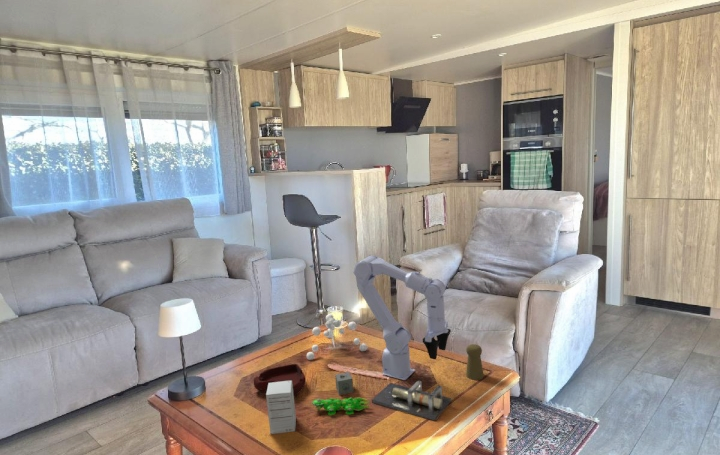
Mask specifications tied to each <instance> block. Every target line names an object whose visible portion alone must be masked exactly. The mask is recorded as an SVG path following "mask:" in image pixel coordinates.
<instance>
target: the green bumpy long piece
mask: <svg viewBox="0 0 720 455" xmlns="http://www.w3.org/2000/svg"><path fill="white" fill-rule="evenodd" d="M369 401H370V400H369V399H366V398H362V397H359V396H357V397H354V398H353V397H349V398H346V397H345V398H343V399H342V398H340V397H338V398H337V399H336V398H333V397H330V398H327V399H321V398H315V399H314V400H313V401H311V403H312V405H314V406H315V407H316V408H317V409H316V410H317V411H320V409H322V408H323V409H324V410H325V411H327V415H328V416H333V415H335V414H337V413H336V411H340V410H344V411H345V414H346V415H348V416H349V415H353V414H355V413H354V411H357V412H359V411H362V410H366V409H368V408H369V407H370V406H369V405H370V403H369Z"/></svg>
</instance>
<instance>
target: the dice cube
mask: <svg viewBox="0 0 720 455" xmlns="http://www.w3.org/2000/svg"><path fill="white" fill-rule="evenodd" d="M334 377H335V378H334V379H335V388H336V391H337V393H338V396H341V395H346V394H351V393H352V394H353V393H354V382H353V380H354V379H353V377H352V375H351V372H350V371H347V372H342V373H336V374H335V375H334Z"/></svg>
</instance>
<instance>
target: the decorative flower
mask: <svg viewBox="0 0 720 455" xmlns="http://www.w3.org/2000/svg"><path fill="white" fill-rule="evenodd" d="M325 321H326V322H325V323H324V325H325V328H324V326H323V324H321V326H322V328H323V329H324V332H322V329H321V328H320V326H315V327H313V328H312V331H311V332H312V335H313V336H315V337H316V338H317V339H319V340H321V341H322V339H321V338H319V337H317V336H319V335H321V332H322V334H323V335H324V337H325V338H327V339H330V341H328V340H326V339H325V338H324V341H323V343H325V344H326V346H325V344H323V343H321V342H319V341H318V343H319V344H320V345H321V344H322V345H321V347H324V346H325V350H324V349H323V351H324V352H322V353H323V354H324V353H325V352H326V349H329V350H335V349H336V350H337V349H348V347H350V345H352V344H353V345H352V347H353V346H358V345H359V347H358V349H359V350H360V351H361V352H365V351H367V350H368V345H367V344H366V343H365V342H363V343H361V340H364V338H363V339H361V340H360V338H359V337H356V338H354V339H352V341H353V342H352V343H349V344H347V348H346V347H345V346H344V344H346V341H343V345H342V341H339V338H336V341H339V342H337V343H336V341H335V337H336V335H338V334H339V335H344V333H345V329H344V328H343V327H342V328H340V327H341V325H342V323H341V322H342V321H341V319H336V318H335V317H334V315H333V314H331V313H328V314H326V316H325ZM336 328H339V329H338V334H337V330H336V335H335V329H336ZM347 328H348V329H349V331H350V330H351V331H355V330H356V329H357V323H356V322H355V321H349V322H348V324H347ZM325 329H327V330H325ZM357 333H358V332H357ZM357 333H355V335H356V334H357ZM345 336H347V334H346V335H344V337H345ZM352 337H354V335H353V336H351V338H352ZM347 340H348V341H349V340H350V338H348V339H347ZM325 341H326V342H327V341H328V342H329V343H328V342H327V343H328V344H327V343H326V342H325ZM331 342H332V344H331ZM320 345H318V344H312V347H311V350H312V351H309V352H306V359H307V360H309V361H313V360H314V359H315V357H316V356H315V355H316V354H315V352H318V354H321V353H319V349H321V350H322V348H320V347H319V346H320ZM327 345H328V346H327ZM348 345H349V346H348Z"/></svg>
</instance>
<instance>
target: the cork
mask: <svg viewBox="0 0 720 455" xmlns="http://www.w3.org/2000/svg"><path fill="white" fill-rule="evenodd" d="M482 352H483V349H482V347H481V345H478V344H475V343H473V344H469V345H468V346H467V347H466V354H467V361H466V362H467V363H466V364H467V365H466V370H465V371H466V372H465V376H466V378H467V379H469V380H472V381H478V380H482V379H483V378H485V375H484V369H483V363H482V356H481V355H482V354H483V353H482Z"/></svg>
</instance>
